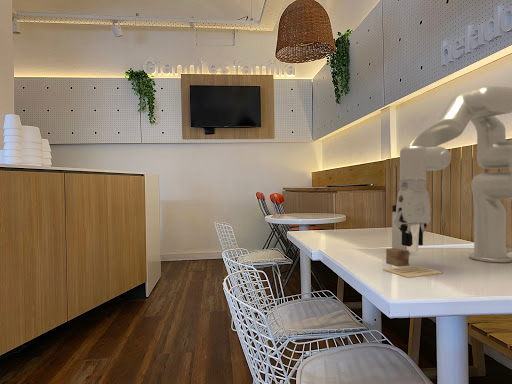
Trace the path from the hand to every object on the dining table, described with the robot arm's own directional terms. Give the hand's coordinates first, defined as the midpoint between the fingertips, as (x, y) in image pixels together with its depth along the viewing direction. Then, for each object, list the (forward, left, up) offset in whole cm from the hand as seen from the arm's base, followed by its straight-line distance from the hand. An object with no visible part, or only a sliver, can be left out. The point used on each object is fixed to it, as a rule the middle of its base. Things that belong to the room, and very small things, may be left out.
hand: (412, 244), depth 104 cm
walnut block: (-4, -10, -9) cm, 14 cm away
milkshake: (0, 0, -2) cm, 2 cm away
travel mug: (-19, -23, -9) cm, 31 cm away
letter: (0, 0, -8) cm, 8 cm away
